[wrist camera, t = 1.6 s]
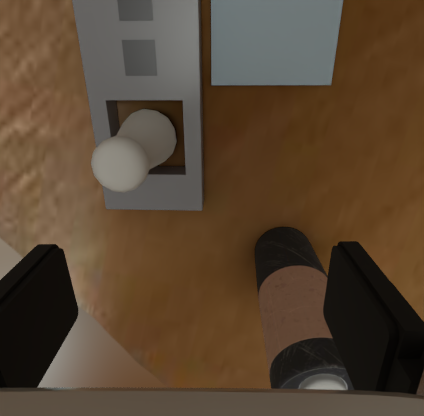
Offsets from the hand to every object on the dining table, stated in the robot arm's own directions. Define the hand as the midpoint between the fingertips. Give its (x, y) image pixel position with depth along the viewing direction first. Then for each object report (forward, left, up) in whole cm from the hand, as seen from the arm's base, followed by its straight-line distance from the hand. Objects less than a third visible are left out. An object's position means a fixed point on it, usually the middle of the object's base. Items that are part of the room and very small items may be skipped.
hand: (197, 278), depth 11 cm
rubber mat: (-11, +5, -26) cm, 29 cm away
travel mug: (+15, +8, -26) cm, 31 cm away
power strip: (-5, -7, -26) cm, 27 cm away
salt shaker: (0, -7, -26) cm, 27 cm away
